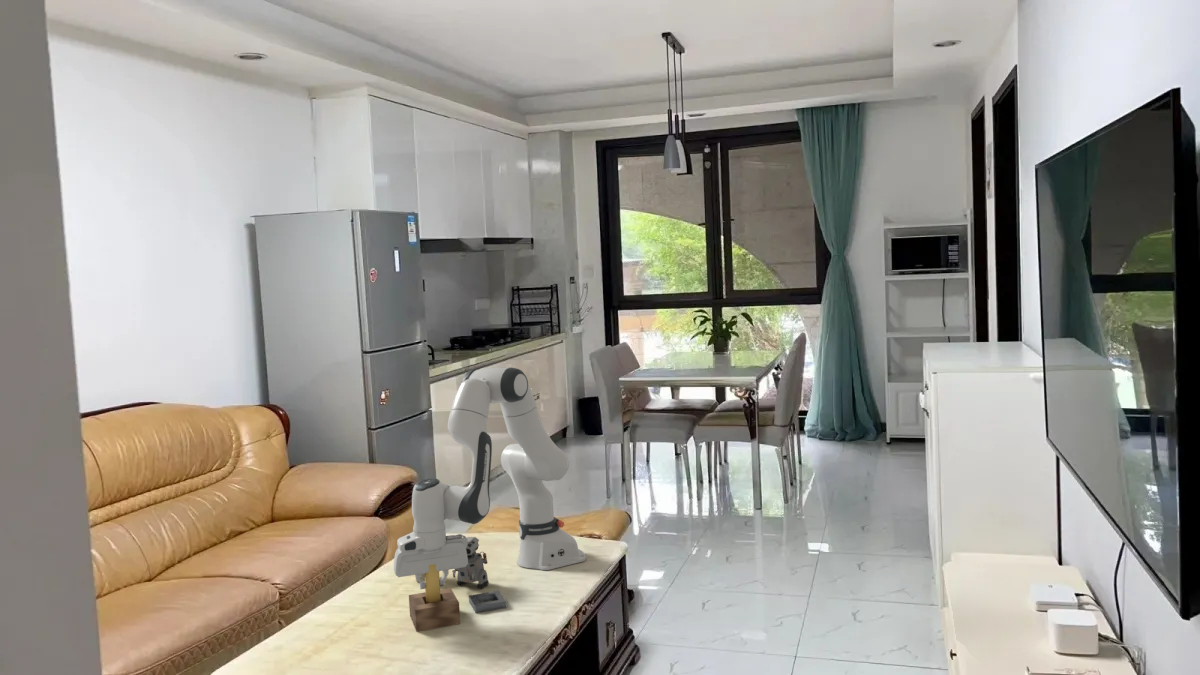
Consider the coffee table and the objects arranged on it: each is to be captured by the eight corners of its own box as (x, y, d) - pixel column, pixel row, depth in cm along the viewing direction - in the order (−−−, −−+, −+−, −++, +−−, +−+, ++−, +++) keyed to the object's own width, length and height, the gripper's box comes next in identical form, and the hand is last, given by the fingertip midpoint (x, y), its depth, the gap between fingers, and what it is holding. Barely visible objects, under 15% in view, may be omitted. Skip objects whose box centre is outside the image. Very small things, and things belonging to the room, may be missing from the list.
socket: (452, 608, 257) (450, 588, 256) (460, 623, 246) (459, 602, 245) (409, 615, 253) (408, 595, 252) (416, 631, 242) (415, 610, 241)
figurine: (446, 592, 270) (443, 544, 268) (467, 579, 280) (465, 532, 278) (471, 596, 266) (468, 547, 264) (492, 583, 276) (489, 535, 275)
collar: (499, 596, 264) (498, 590, 264) (506, 607, 256) (506, 601, 256) (469, 602, 261) (468, 595, 261) (475, 613, 253) (475, 606, 252)
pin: (439, 601, 251) (437, 559, 250) (441, 605, 247) (439, 563, 246) (425, 603, 250) (422, 561, 249) (427, 608, 246) (425, 566, 245)
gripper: (464, 530, 254) (467, 577, 255) (391, 540, 247) (394, 588, 248) (469, 536, 248) (471, 584, 249) (394, 546, 241) (397, 596, 242)
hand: (432, 586), depth 248 cm, fingers closed on pin, 4 cm apart
